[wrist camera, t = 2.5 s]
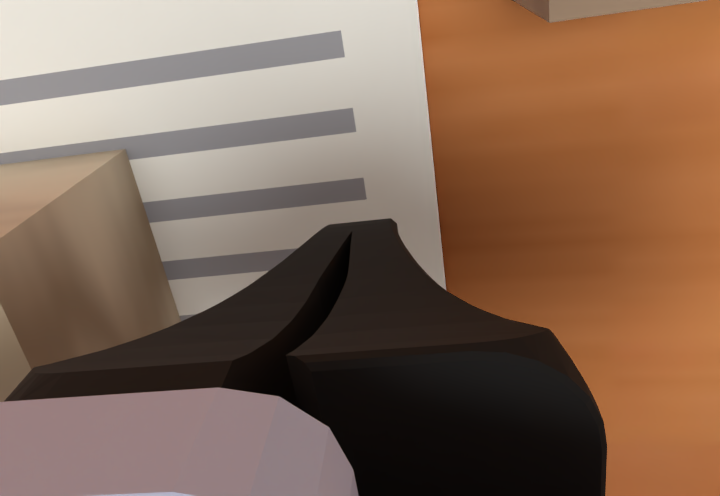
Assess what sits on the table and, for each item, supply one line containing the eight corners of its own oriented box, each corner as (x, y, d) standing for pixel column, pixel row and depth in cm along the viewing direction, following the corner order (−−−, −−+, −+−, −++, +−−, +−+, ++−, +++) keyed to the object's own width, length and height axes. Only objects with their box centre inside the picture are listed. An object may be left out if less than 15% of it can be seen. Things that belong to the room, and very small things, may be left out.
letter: (460, 429, 16) (460, 433, 16) (-22, 455, 18) (-25, 459, 18) (408, -86, 11) (408, -86, 11) (-258, 28, 13) (-266, 29, 13)
